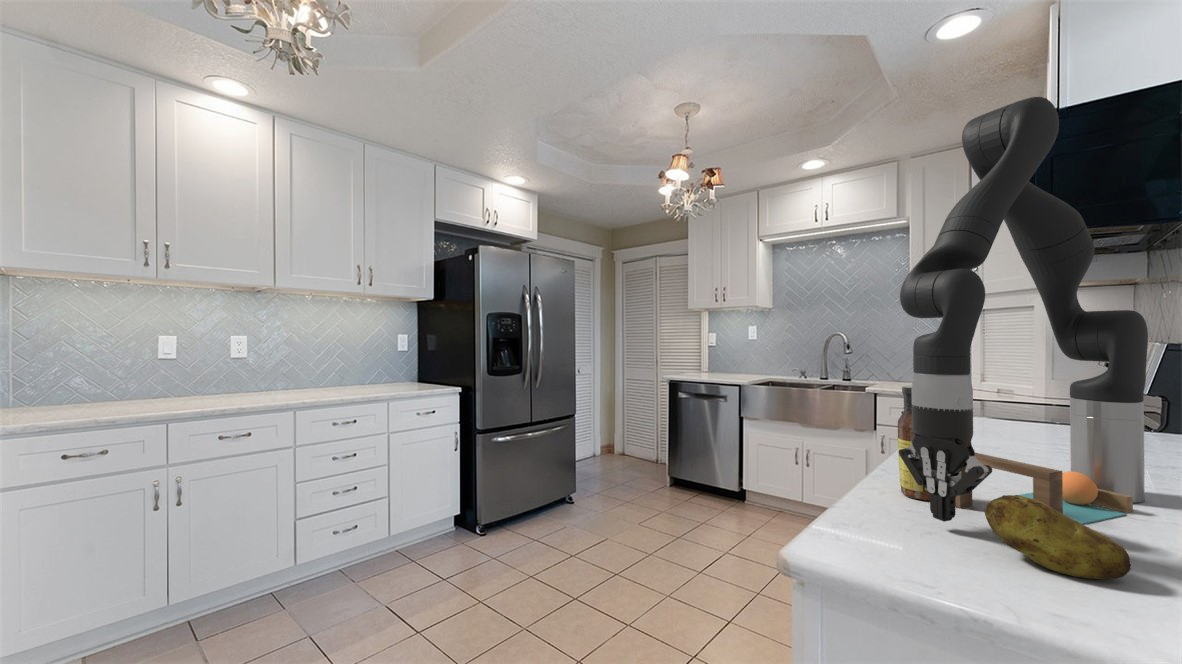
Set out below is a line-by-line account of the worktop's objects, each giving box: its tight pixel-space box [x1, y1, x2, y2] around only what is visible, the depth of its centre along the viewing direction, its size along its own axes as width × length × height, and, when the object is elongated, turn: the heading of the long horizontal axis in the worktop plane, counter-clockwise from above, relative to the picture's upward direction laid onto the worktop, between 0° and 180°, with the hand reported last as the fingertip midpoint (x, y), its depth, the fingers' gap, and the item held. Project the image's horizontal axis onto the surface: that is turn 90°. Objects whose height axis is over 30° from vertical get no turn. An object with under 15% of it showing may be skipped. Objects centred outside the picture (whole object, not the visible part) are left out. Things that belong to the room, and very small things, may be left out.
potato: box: [984, 494, 1132, 580], centre depth 62 cm, size 8×13×8 cm, turn 27°
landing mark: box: [992, 492, 1127, 525], centre depth 83 cm, size 12×12×1 cm
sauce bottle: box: [897, 384, 930, 501], centre depth 89 cm, size 6×6×20 cm
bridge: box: [955, 452, 1063, 514], centre depth 78 cm, size 3×14×9 cm, turn 19°
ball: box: [1062, 470, 1098, 505], centre depth 84 cm, size 6×6×6 cm
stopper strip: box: [1089, 489, 1134, 514], centre depth 86 cm, size 2×11×2 cm, turn 19°
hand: (942, 519), depth 74 cm, fingers closed
